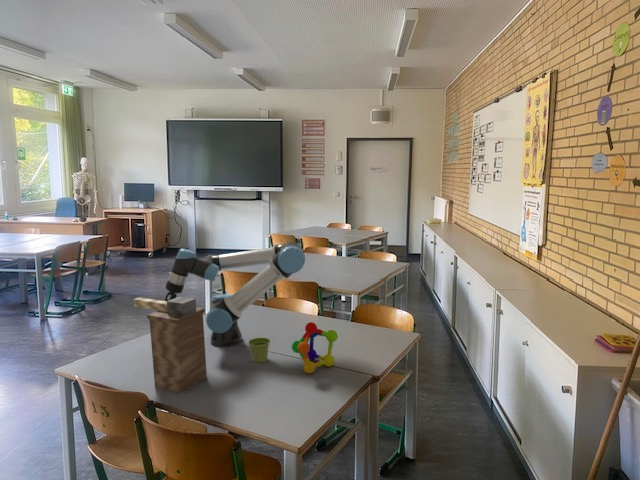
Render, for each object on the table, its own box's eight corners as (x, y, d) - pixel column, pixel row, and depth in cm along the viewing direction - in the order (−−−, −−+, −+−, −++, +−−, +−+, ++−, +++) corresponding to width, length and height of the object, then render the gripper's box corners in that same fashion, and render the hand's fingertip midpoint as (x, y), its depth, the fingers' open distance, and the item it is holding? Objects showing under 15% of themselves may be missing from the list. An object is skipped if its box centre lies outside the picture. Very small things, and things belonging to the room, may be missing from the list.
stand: (208, 377, 186) (204, 308, 181) (182, 394, 173) (177, 319, 168) (180, 371, 192) (175, 304, 188) (152, 386, 179) (147, 314, 175)
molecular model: (304, 379, 181) (302, 329, 180) (280, 371, 192) (277, 324, 191) (341, 365, 196) (339, 318, 194) (316, 357, 207) (314, 314, 205)
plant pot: (245, 363, 199) (244, 343, 198) (255, 354, 208) (254, 336, 207) (264, 365, 196) (264, 346, 195) (274, 357, 205) (273, 338, 204)
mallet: (196, 311, 178) (195, 298, 177) (183, 316, 172) (182, 303, 171) (143, 303, 190) (142, 291, 190) (130, 307, 184) (129, 295, 183)
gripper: (173, 274, 217) (158, 315, 219) (161, 285, 193) (144, 331, 194) (189, 279, 219) (174, 320, 220) (179, 291, 194) (162, 337, 196)
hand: (160, 325), depth 207 cm, fingers open, 13 cm apart
